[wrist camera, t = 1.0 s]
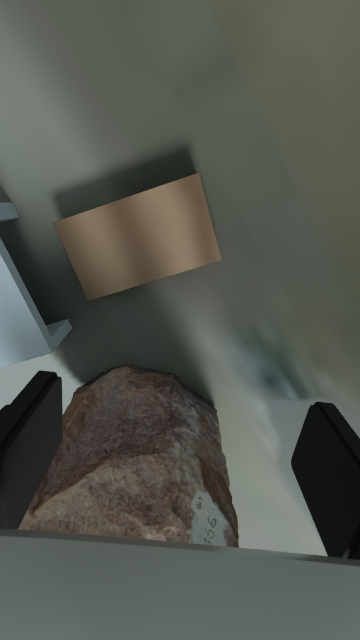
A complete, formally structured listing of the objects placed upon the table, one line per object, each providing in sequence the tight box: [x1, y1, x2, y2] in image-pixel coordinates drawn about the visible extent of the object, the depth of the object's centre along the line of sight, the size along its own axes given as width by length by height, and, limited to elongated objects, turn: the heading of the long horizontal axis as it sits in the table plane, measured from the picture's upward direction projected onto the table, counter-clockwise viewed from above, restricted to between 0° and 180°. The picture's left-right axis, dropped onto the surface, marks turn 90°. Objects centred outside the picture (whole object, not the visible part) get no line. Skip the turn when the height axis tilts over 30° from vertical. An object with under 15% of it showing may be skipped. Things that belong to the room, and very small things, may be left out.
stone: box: [18, 365, 239, 548], centre depth 29 cm, size 19×11×20 cm, turn 79°
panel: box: [53, 173, 221, 301], centre depth 30 cm, size 14×8×3 cm, turn 107°
